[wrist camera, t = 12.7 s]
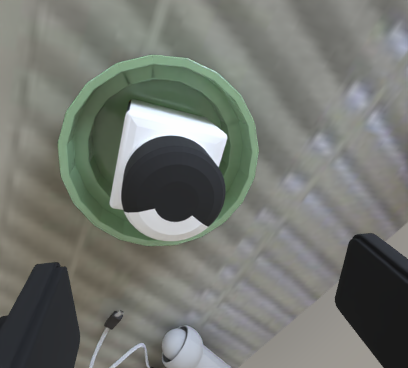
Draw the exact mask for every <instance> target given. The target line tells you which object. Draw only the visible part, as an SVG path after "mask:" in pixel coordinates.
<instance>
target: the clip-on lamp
mask: <svg viewBox="0 0 408 368" xmlns="http://www.w3.org/2000/svg"><path fill="white" fill-rule="evenodd" d="M123 313H124V312H123V311H121V310H120V311H119V312H117V311H114V312H113V314H112V315H111V316H110V317H109V319H108V320H107V321H106V323H105V325H104V326H105V327H106V328H105V330H104V332H103V334H102V336H101V338H100V340H99V342H98V344H97V346H96V349H95V351H94V354H93V356H92V359H91V362H90V366H89V368H92V367H93V364H94V361H95V358H96V356H97V353H98V351H99V349H100V347H101V345H102V343H103V341H104V339H105V337H106V335H107V333H108V331H109V329H111V330H112V329H113V328H114V327H115V326H116V325H117V324H118V323H119V321H120V320H121V319H122V317H123V315H122V314H123ZM140 347H143V348H144V351H145V361H146V366H147V368H153V367H150V366H149V362H148V356H147V349H146V346H145V344H143V343H140V344H137V345H135V346H134V347H133V348H131V349H130V350H129V351H128V352H127V353H125V354H124V355H123V356H122V357H121V358H120V359H119V360H117V361H116V362H115V363H114V364H113V365H112V366H110V367H109V368H115V367H116V366H118V365H119V364H120V363H121V362H122V361H123V360H124V359H126V358H127V357H128V356H129V355H130V354H131V353H133V352H134V351H135V350H136V349H138V348H140ZM162 349H163V352H162V362H163V364H164V365H165V367H166V368H231V367H230V366H229V365H228V364H227V363H225V362H224V361H223V360H222V359H220V358H219V357H218V356H217V355H215V354H214V353H213V352H212V351H211V350H209V349H208V348H207V347H206V346H204V345H203V342H202V339H201V337H200V335H199V334H198V332H197V331H196V330H195V329H194V328H192V327H190V326H187V325H182V326H180V327H178V328H176V329H172V330H170V331H169V332H167V333H166V335H165V336H164V338H163V341H162Z"/></svg>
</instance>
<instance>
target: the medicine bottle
mask: <svg viewBox="0 0 408 368" xmlns="http://www.w3.org/2000/svg"><path fill="white" fill-rule="evenodd" d="M226 141H227V135H226V134H225V133H224V132H223V131H222V130H220V129H219V128H218V127H217V126H215V125H214V124H213V123H212V122H211V121H209V120H208V119H207V118H205V117H201V116H197V115H193V114H189V113H186V112H182V111H178V110H174V109H170V108H166V107H162V106H158V105H154V104H150V103H146V102H143V101H139V100H135V99H131V100H130V101H129V103H128V107H127V111H126V115H125V120H124V126H123V131H122V137H121V142H120V148H119V153H118V159H117V164H116V170H115V175H114V180H113V186H112V191H111V197H110V202H109V203H110V206H111V207H112V208H114V209H121V210H124V213H125V215H126V217H127V219H128V220H129V222H130V223H131V224H132V225H133V226H134V227H135V228H136V229H137V230H138V231H140V232H141V233H143V234H144V235H146V236H148V237H151V238H153V239H157V240H162V241H180V240H185V239H188V238H191V237H193V236H196V235H198V234H199V233H201V232H203V231H204V230H205V229H207V228H208V227H209V226H210V225H211V224H212V223H213V222H214V221H215V220H216V218H217V217H218V215H219V214H220V212H221V210H222V207H223V205H224V201H225V194H226V188H225V181H224V178H223V175H222V173H221V171H220V169H219V164H220V161H221V158H222V154H223V151H224V148H225V144H226Z"/></svg>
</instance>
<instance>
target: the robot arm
mask: <svg viewBox="0 0 408 368" xmlns="http://www.w3.org/2000/svg"><path fill="white" fill-rule="evenodd" d="M335 303H336V306H337V308H338V309H339V310H340V312H341V313H342V315H343V316H344V317H345V319H346V320H347V321H348V322H349V324H350V325H351V326H352V327H353V329H354V330H355V331H356V333H357V334H358V335H359V337H360V338H361V339H362V340H363V341H364V343H365V344H366V345H367V347H368V348H369V349H370V351H371V352H372V353H373V355H374V356H375V357H376V358H377V360H378V361H379V362H380V364H381V365H382V366H383V367H384V368H408V259H407V258H406V257H404V256H403V255H402V254H400V253H399V252H398V251H397V250H395V249H394V248H393V247H391V246H390V245H389V244H387V243H386V242H385V241H383V240H382V239H381V238H379V237H378V236H377V235H375V234H373V233H368V234H357V235H355V236H354V237H353V239H352V240H350V242H349V244H348V248H347V252H346V256H345V260H344V264H343V268H342V272H341V276H340V280H339V284H338V288H337V292H336V296H335ZM79 343H80V331H79V326H78V321H77V316H76V311H75V306H74V301H73V296H72V291H71V286H70V281H69V276H68V271H67V268H66V267H60V264H59V263H58V262H55V263H44V264H37V265H35V267H34V268H33V270H32V272H31V274H30V276H29V278H28V280H27V281H26V283H25V285H24V287H23V289H22V291H21V293H20V294H19V296H18V298H17V300H16V302H15V304H14V306H13V307H12V309H11V311H10V313H9V315H8V316H2V317H1V318H0V368H74V365H75V361H76V357H77V352H78V348H79Z"/></svg>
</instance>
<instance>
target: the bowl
mask: <svg viewBox="0 0 408 368" xmlns="http://www.w3.org/2000/svg"><path fill="white" fill-rule="evenodd" d="M131 99H135V100H139V101H143V102H146V103H150V104H154V105H158V106H162V107H166V108H170V109H174V110H178V111H182V112H186V113H189V114H193V115H197V116H201V117H205V118H207V119H208V120H209V121H211V122H212V123H213V124H214V125H215V126H217V127H218V128H219V129H220V130H222V131H223V132H224V133H225V134H226V135H227V141H226V144H225V148H224V151H223V154H222V158H221V161H220V164H219V169H220V171H221V173H222V175H223V178H224V181H225V188H226V194H225V201H224V205H223V207H222V210H221V212H220V214H219V215H218V217H217V218H216V220H215V221H214V222H213V223H212V224H211V225H210V226H209V227H208V228H207V229H205V230H204V231H203V232H201V233H199V234H198V235H196V236H193V237H191V238H188V239H185V240H180V241H162V240H157V239H153V238H151V237H148V236H146V235H144V234H143V233H141V232H140V231H138V230H137V229H136V228H135V227H134V226H133V225H132V224H131V223H130V222H129V220H128V219H127V217H126V215H125V213H124V210H121V209H114V208H112V207H111V206H110V203H109V202H110V197H111V191H112V186H113V180H114V175H115V170H116V164H117V159H118V153H119V148H120V142H121V137H122V131H123V126H124V120H125V115H126V111H127V107H128V103H129V101H130V100H131ZM258 153H259V148H258V142H257V135H256V128H255V123H254V120H253V118H252V116H251V114H250V112H249V110H248V108H247V106H246V104H245V102H244V100H243V98H242V96H241V95H240V94H239V93H238V92H237V91H236V90H235V89H234V88H233V87H232V86H231V85H230V84H229V83H228V82H227V81H226V80H225V79H224V78H223V77H222V76H221V75H220V74H219V73H217V72H215V71H213V70H211V69H209V68H207V67H205V66H203V65H200V64H198V63H196V62H194V61H192V60H190V59H187V58H180V57H171V56H161V55H148V56H144V57H140V58H136V59H131V60H127V61H123V62H119V63H117V64H114V65H113V66H111V67H110V68H108V69H107V70H105V71H104V72H102V73H101V74H99V75H98V76H96V77H95V78H93V79H92V80H90V81H89V82H88V83H87V84H86V85H85V86H84V87H83V89H82V90H81V92H80V93H79V94H78V96H77V97H76V98H75V100H74V101H73V103H72V104H71V105H70V107H69V108H68V110H67V112H66V114H65V118H64V121H63V125H62V129H61V133H60V136H59V140H58V154H59V165H60V175H61V178H62V180H63V182H64V184H65V187H66V189H67V191H68V193H69V195H70V197H71V199H72V201H73V203H74V205H75V206H76V207H77V208H78V209H79V210H80V211H81V212H82V213H83V214H84V215H85V216H86V217H87V218H88V219H89V220H90V221H91V223H92V224H93V225H95V226H96V227H98V228H99V229H101V230H103V231H105V232H107V233H108V234H110V235H112V236H114V237H115V238H117V239H119V240H123V241H127V242H131V243H135V244H140V245H144V246H169V245H178V244H181V243H184V242H187V241H191V240H194V239H197V238H200V237H202V236H204V235H206V234H207V233H209V232H210V231H212V230H214V229H215V228H217V227H218V226H220V225H221V224H223V223H224V222H225V221H226V220H227V219H228V218H229V217H230V216H231V215H232V214H233V213H234V211H235V210H236V209H237V208H238V207H239V206H240V205H241V204H242V202H243V200H244V198H245V196H246V194H247V192H248V190H249V188H250V186H251V184H252V182H253V180H254V177H255V171H256V165H257V159H258Z"/></svg>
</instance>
